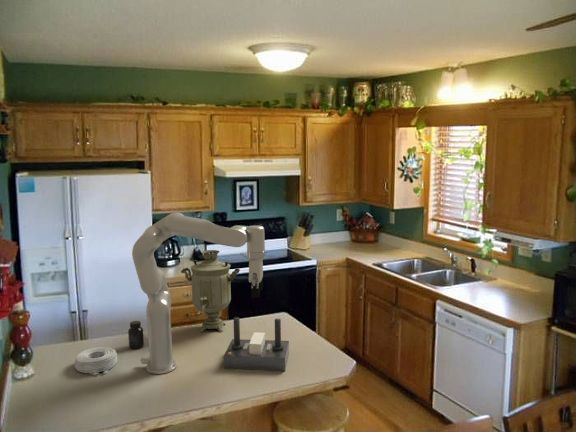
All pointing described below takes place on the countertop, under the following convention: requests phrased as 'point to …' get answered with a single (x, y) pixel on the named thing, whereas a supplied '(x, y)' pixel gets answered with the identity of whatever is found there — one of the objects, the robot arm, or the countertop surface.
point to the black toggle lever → (277, 336)
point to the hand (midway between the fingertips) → (257, 293)
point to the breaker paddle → (257, 344)
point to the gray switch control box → (257, 357)
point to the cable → (96, 360)
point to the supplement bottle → (135, 335)
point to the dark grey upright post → (237, 335)
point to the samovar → (211, 287)
